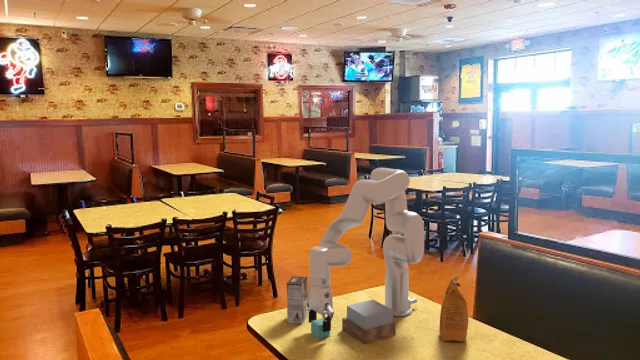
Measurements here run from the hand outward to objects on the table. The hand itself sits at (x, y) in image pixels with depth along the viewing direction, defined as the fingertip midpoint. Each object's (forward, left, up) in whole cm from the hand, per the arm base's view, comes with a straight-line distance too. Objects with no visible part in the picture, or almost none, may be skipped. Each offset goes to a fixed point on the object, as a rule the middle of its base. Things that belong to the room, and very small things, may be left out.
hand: (319, 326), depth 178 cm
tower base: (-17, +8, -4) cm, 19 cm away
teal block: (0, 0, -3) cm, 3 cm away
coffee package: (-40, +27, -4) cm, 49 cm away
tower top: (-17, +8, +1) cm, 19 cm away
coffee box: (0, -17, -4) cm, 17 cm away
